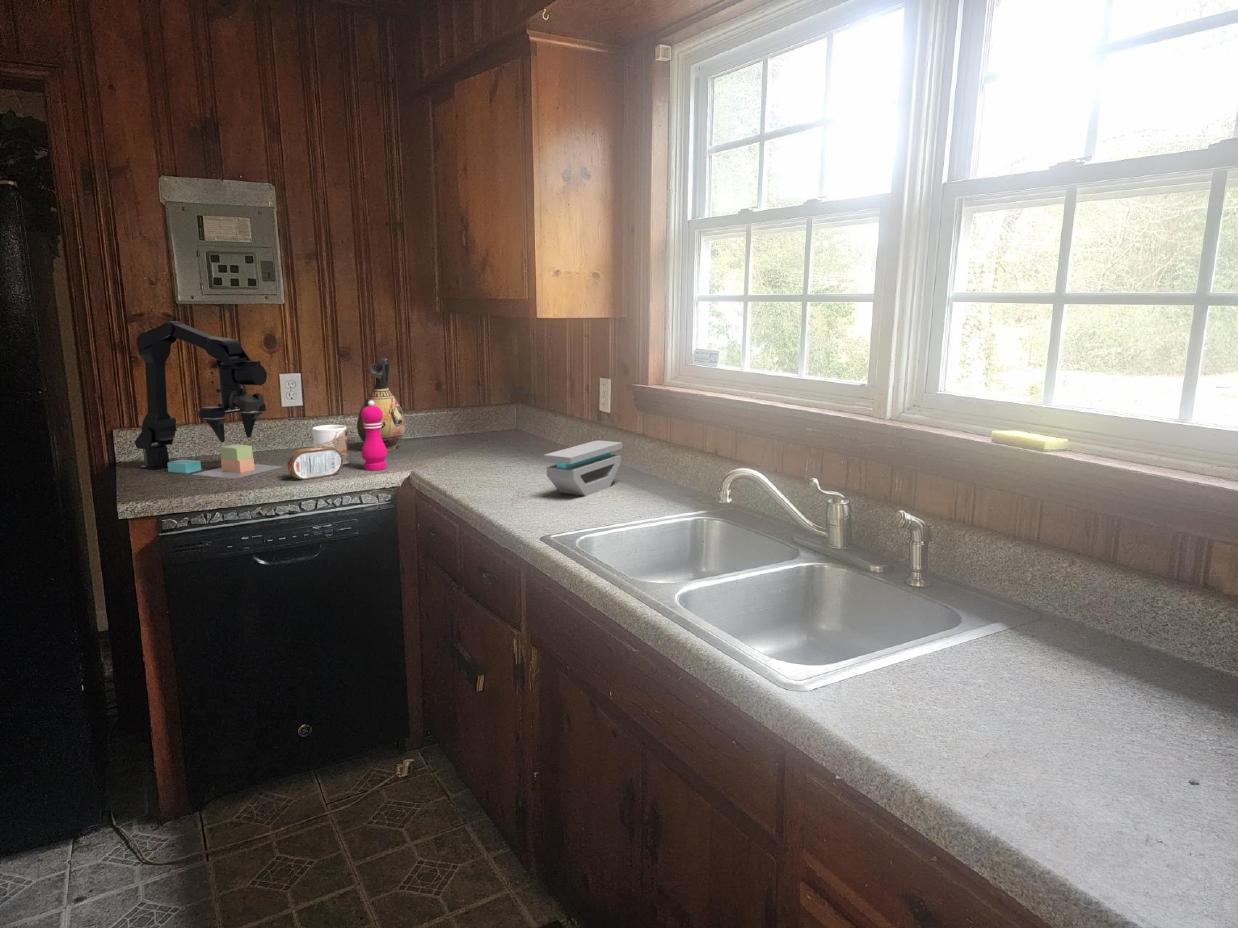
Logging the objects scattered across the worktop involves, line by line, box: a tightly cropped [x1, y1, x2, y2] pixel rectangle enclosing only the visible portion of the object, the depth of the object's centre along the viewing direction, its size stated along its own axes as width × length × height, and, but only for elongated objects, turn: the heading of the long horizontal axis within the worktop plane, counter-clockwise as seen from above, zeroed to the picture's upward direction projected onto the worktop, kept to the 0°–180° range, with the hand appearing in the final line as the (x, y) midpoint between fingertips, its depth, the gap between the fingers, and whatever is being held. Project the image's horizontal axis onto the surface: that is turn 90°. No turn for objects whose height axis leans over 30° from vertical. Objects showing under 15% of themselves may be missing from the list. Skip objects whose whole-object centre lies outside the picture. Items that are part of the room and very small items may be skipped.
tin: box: [287, 446, 344, 481], centre depth 224 cm, size 15×3×8 cm, turn 134°
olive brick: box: [219, 443, 254, 461], centre depth 230 cm, size 7×5×4 cm
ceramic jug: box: [356, 357, 407, 452], centre depth 266 cm, size 17×15×30 cm
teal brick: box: [167, 459, 202, 474], centre depth 231 cm, size 7×5×4 cm
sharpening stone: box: [543, 439, 623, 497], centre depth 207 cm, size 25×8×11 cm, turn 150°
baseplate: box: [191, 463, 283, 480], centre depth 231 cm, size 16×18×1 cm
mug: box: [311, 424, 350, 465], centre depth 245 cm, size 10×12×11 cm
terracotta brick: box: [220, 457, 255, 473], centre depth 231 cm, size 7×5×4 cm
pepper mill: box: [361, 401, 388, 471], centre depth 234 cm, size 7×7×20 cm
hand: (236, 439), depth 229 cm, fingers open, 9 cm apart
